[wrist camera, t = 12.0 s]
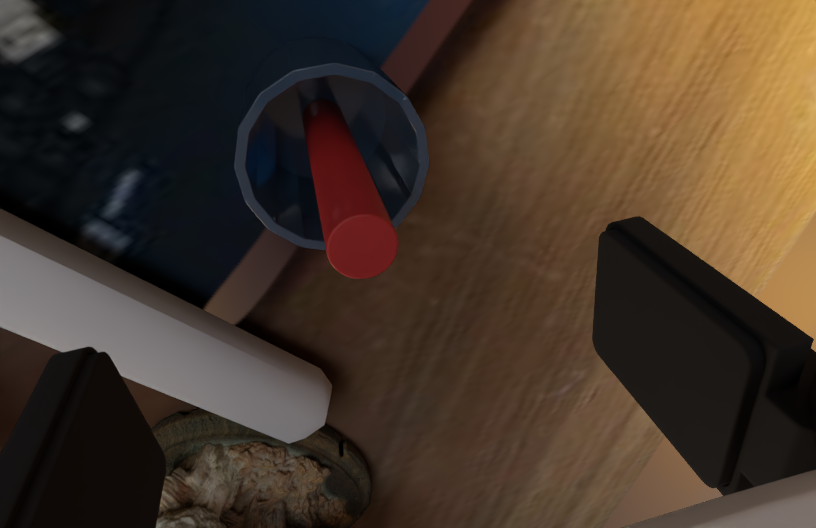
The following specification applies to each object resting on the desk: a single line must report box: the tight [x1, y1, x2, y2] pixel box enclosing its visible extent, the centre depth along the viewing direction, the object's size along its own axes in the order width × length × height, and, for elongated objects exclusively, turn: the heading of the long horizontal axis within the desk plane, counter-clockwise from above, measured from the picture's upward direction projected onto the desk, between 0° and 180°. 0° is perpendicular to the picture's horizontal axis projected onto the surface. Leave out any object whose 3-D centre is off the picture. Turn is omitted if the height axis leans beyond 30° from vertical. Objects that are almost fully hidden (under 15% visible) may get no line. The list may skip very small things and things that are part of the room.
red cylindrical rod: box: [302, 99, 399, 279], centre depth 21 cm, size 2×2×14 cm
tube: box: [0, 209, 332, 444], centre depth 28 cm, size 5×5×25 cm
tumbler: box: [234, 37, 430, 250], centre depth 24 cm, size 7×7×8 cm
